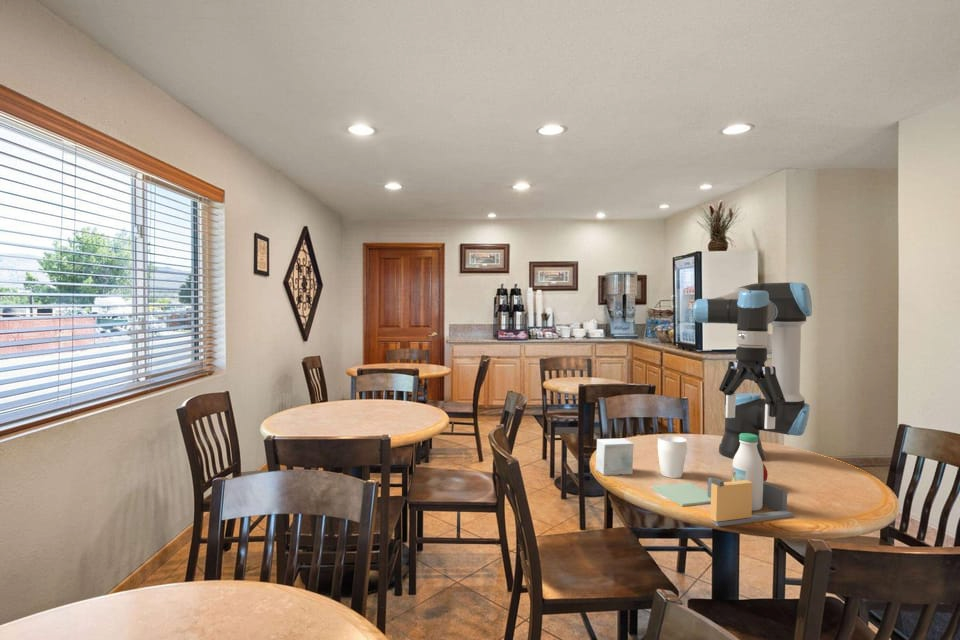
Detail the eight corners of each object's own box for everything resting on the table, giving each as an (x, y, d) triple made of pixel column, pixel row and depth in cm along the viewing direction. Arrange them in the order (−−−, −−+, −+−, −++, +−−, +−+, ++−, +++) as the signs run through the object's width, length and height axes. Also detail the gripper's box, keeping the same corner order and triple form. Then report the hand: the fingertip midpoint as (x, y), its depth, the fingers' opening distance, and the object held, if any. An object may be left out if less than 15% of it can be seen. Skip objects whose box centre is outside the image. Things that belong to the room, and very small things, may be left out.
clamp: (746, 494, 146) (747, 474, 146) (794, 516, 131) (795, 494, 131) (675, 502, 139) (676, 481, 139) (717, 526, 124) (718, 502, 124)
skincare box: (603, 476, 160) (604, 444, 160) (595, 469, 166) (596, 438, 166) (633, 474, 162) (634, 442, 162) (623, 468, 169) (624, 437, 168)
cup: (688, 480, 157) (689, 443, 157) (658, 478, 159) (659, 441, 159) (682, 471, 166) (683, 436, 166) (654, 469, 168) (655, 434, 167)
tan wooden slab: (744, 513, 129) (745, 474, 129) (752, 517, 126) (754, 478, 126) (709, 517, 126) (710, 478, 126) (717, 522, 123) (718, 481, 123)
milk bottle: (759, 502, 140) (761, 432, 139) (765, 513, 133) (767, 439, 132) (729, 498, 142) (731, 430, 142) (733, 509, 135) (735, 436, 135)
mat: (689, 484, 154) (690, 482, 154) (723, 501, 140) (723, 499, 140) (651, 488, 150) (651, 486, 150) (682, 506, 136) (682, 504, 136)
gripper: (707, 343, 147) (705, 413, 148) (779, 350, 123) (776, 434, 124) (728, 343, 149) (725, 413, 150) (803, 350, 125) (800, 433, 126)
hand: (748, 423), depth 137 cm, fingers open, 13 cm apart
